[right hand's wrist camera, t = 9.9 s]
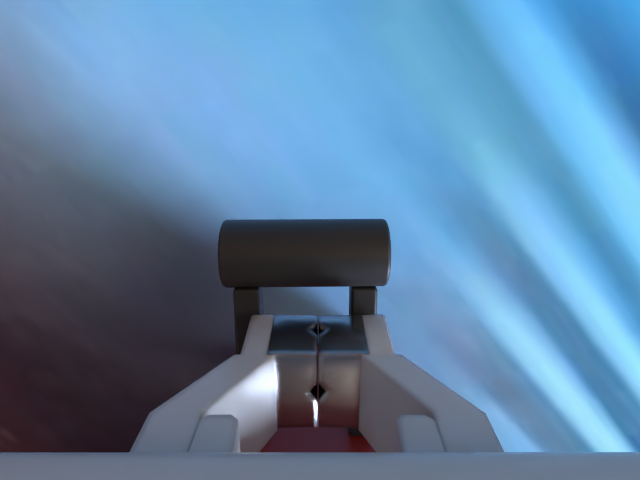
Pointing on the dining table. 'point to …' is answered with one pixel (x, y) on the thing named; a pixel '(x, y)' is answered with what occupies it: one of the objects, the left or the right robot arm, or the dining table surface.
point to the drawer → (305, 271)
